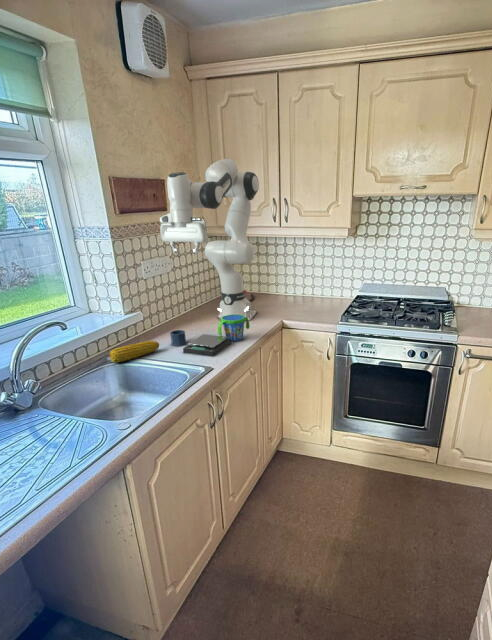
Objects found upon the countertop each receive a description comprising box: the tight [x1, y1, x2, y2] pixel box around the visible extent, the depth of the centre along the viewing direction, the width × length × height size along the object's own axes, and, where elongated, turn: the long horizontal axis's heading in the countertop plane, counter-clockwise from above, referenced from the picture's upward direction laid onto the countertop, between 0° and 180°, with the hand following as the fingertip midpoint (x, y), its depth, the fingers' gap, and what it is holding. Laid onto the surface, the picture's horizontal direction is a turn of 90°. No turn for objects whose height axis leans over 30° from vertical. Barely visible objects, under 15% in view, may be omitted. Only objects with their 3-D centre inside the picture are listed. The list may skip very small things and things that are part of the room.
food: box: [108, 340, 160, 364], centre depth 165 cm, size 21×6×6 cm, turn 141°
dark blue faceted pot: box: [169, 329, 187, 347], centre depth 178 cm, size 6×6×5 cm
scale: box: [182, 339, 232, 357], centre depth 174 cm, size 16×14×3 cm
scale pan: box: [187, 333, 228, 348], centre depth 174 cm, size 13×12×1 cm
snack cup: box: [217, 314, 251, 342], centre depth 182 cm, size 16×10×10 cm
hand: (186, 253), depth 169 cm, fingers open, 8 cm apart
